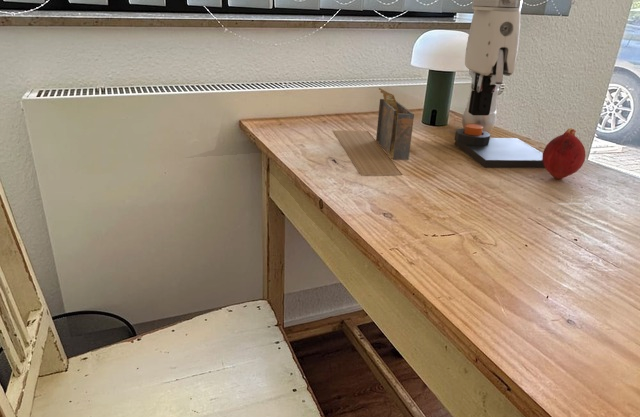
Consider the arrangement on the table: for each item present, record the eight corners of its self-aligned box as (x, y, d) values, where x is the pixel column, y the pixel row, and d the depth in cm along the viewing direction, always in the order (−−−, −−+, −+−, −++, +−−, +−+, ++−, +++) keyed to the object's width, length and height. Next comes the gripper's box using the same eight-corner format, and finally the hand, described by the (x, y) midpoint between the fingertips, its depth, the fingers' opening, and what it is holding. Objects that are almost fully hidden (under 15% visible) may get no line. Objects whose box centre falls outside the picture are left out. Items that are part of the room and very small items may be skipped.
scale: (514, 144, 93) (517, 129, 91) (553, 168, 80) (558, 151, 79) (448, 143, 91) (451, 128, 90) (478, 168, 79) (482, 150, 78)
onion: (573, 189, 72) (588, 136, 69) (533, 179, 75) (545, 128, 72) (581, 179, 76) (595, 128, 73) (543, 170, 79) (555, 121, 76)
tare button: (477, 132, 89) (478, 124, 88) (484, 137, 86) (485, 128, 86) (461, 132, 89) (462, 123, 88) (468, 137, 86) (469, 128, 85)
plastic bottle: (485, 128, 103) (505, 27, 95) (498, 137, 97) (520, 30, 88) (455, 127, 102) (472, 25, 94) (466, 136, 96) (485, 28, 88)
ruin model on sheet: (332, 130, 96) (335, 79, 92) (413, 131, 98) (419, 81, 94) (361, 175, 73) (366, 110, 69) (464, 174, 76) (475, 111, 72)
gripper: (544, 2, 72) (519, 125, 80) (498, 0, 86) (480, 105, 93) (495, 1, 71) (475, 125, 79) (457, -1, 85) (443, 105, 92)
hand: (478, 114), depth 86 cm, fingers closed
